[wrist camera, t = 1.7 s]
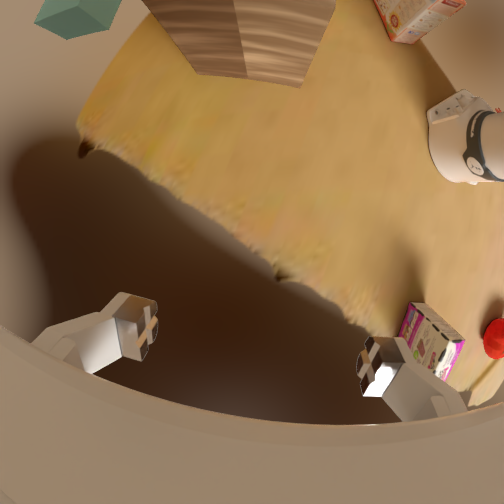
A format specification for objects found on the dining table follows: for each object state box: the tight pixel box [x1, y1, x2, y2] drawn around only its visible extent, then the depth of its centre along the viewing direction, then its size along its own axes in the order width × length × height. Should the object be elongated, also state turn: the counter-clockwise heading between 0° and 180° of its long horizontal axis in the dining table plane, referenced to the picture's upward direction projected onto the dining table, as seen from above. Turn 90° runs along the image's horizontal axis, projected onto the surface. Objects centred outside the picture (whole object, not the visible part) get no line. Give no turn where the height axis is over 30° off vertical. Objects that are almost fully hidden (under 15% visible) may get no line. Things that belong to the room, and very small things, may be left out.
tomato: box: [483, 318, 504, 359], centre depth 47 cm, size 12×12×10 cm
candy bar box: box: [398, 302, 465, 382], centre depth 44 cm, size 11×5×16 cm, turn 174°
